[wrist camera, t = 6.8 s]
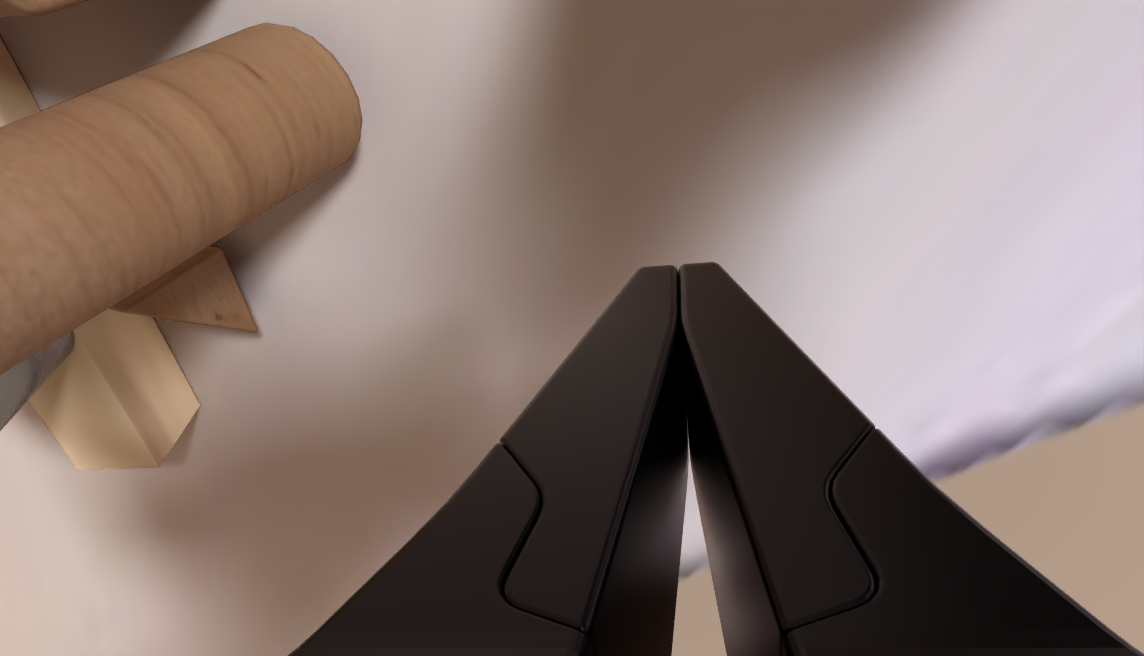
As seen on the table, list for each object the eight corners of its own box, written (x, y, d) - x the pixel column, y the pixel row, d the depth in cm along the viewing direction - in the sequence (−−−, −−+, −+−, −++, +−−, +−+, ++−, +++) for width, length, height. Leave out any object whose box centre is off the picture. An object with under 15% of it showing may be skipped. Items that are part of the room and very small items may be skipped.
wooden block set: (-75, -396, 18) (-842, -437, 11) (169, -533, 14) (-801, -733, 7) (236, 288, 28) (-66, 496, 21) (434, 327, 24) (140, 601, 17)
